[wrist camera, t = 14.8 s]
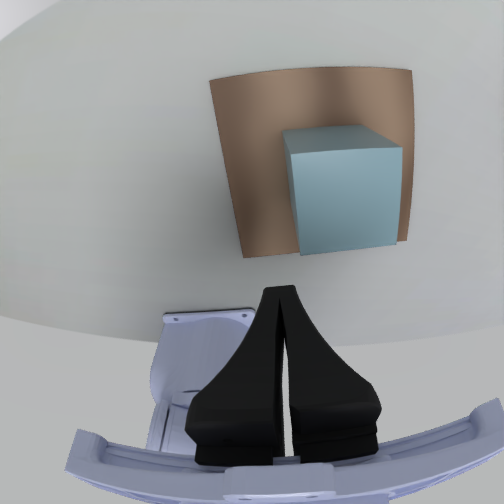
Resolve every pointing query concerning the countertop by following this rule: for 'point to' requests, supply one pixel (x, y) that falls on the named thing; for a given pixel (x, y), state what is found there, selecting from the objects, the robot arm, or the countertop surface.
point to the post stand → (297, 117)
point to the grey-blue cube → (343, 187)
